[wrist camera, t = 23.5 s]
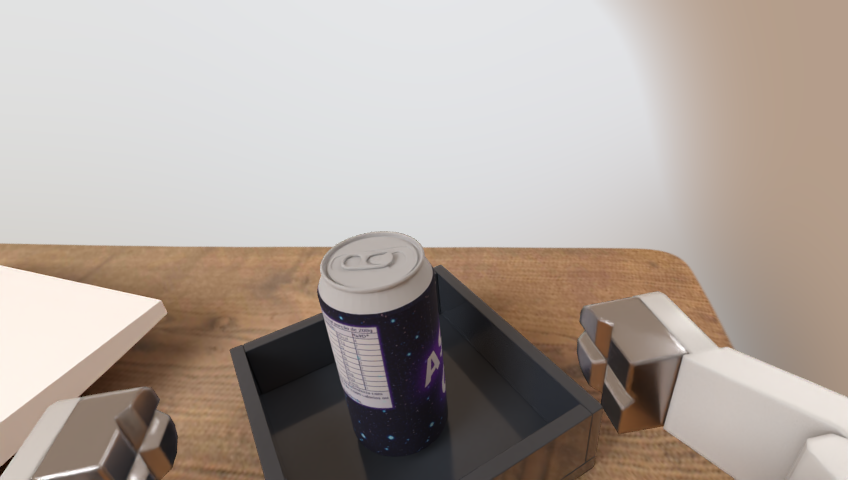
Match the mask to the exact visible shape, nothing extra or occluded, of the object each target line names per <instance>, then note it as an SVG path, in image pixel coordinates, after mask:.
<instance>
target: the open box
mask: <svg viewBox="0 0 848 480" xmlns="http://www.w3.org/2000/svg"><path fill="white" fill-rule="evenodd" d="M433 269H434V273H435V282H436V292H437V303H438V313H439V323H440V333H441V343H442V353H443V364H444V374H445V384H446V394H447V404H448V418H447V422H446V425H445V427H444V429H443V431H442V433H441V434H440V435H439V437H438V438H437V439H436V440H435V441H434V442H433V443H432V444H430V445H429V446H428V447H426V448H425V449H423V450H421V451H419V452H417V453H414V454H411V455H407V456H401V457H389V456H383V455H379V454H376V453H374V452H372V451H370V450H369V449H367V448H366V447H365V446H364V445H362V443H361V442H360V441H359V440H358V438H357V437H356V434H355V432H354V429H353V425H352V421H351V417H350V414H349V410H348V406H347V403H346V399H345V395H344V391H343V388H342V384H341V380H340V376H339V373H338V369H337V365H336V362H335V358H334V354H333V350H332V347H331V343H330V339H329V335H328V332H327V328H326V324H325V320H324V317H323V313H320V314H317V315H315V316H313V317H310V318H308V319H305V320H303V321H300V322H298V323H295V324H293V325H290V326H288V327H285V328H283V329H280V330H278V331H275V332H273V333H270V334H268V335H265V336H263V337H260V338H258V339H256V340H253V341H251V342H248V343H246V344H244V345H240V346H237V347H235V348H232V349H230V353H231V357H232V360H233V364H234V368H235V371H236V375H237V379H238V382H239V386H240V390H241V393H242V397H243V400H244V404H245V408H246V411H247V415H248V419H249V422H250V426H251V430H252V433H253V437H254V440H255V444H256V448H257V451H258V455H259V459H260V462H261V466H262V470H263V473H264V477H265V480H575V479H576V478H578V477H579V476H581V475H582V474H583V473H585V472H586V471H588V470H589V469H591V468H592V467H593V466H594V462H595V455H596V450H597V444H598V438H599V432H600V426H601V420H602V414H603V407H602V406H601V404H600V403H599V402H598V401H597V400H596V399H595V398H593V397H592V396H591V395H590V394H589V393H588V392H587V391H585V390H584V389H583V388H582V387H581V386H580V385H579V384H577V383H576V382H575V381H574V380H573V379H572V378H571V377H569V376H568V375H567V374H566V373H565V372H564V371H562V370H561V369H560V368H559V367H558V366H557V365H556V364H554V363H553V362H552V361H551V360H550V359H549V358H548V357H546V356H545V355H544V354H543V353H542V352H541V351H540V350H538V349H537V348H536V347H535V346H534V345H533V344H532V343H530V342H529V341H528V340H527V339H526V338H525V337H523V336H522V335H521V334H520V333H519V332H518V331H517V330H515V329H514V328H513V327H512V326H511V325H510V324H509V323H507V322H506V321H505V320H504V319H503V318H502V317H501V316H499V315H498V314H497V313H496V312H495V311H494V310H492V309H491V308H490V307H489V306H488V305H487V304H486V303H484V302H483V301H482V300H481V299H480V298H479V297H478V296H476V295H475V294H474V293H473V292H472V291H471V290H470V289H468V288H467V287H466V286H465V285H464V284H463V283H461V282H460V281H459V280H458V279H457V278H456V277H455V276H453V275H452V274H451V273H450V272H449V271H448V270H447V269H445V268H444V267H443V266H442V265H439V266H436V267H434V268H433Z"/></svg>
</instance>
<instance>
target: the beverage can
mask: <svg viewBox="0 0 848 480" xmlns="http://www.w3.org/2000/svg"><path fill="white" fill-rule="evenodd" d="M320 272H321V278H320V281H319V284H318V289H317V293H318V298H319V302H320V306H321V309H322V313H323V317H324V320H325V324H326V328H327V332H328V335H329V339H330V343H331V347H332V350H333V354H334V358H335V362H336V365H337V369H338V373H339V376H340V380H341V384H342V388H343V391H344V395H345V399H346V403H347V406H348V410H349V414H350V417H351V421H352V425H353V429H354V432H355V434H356V437H357V438H358V440H359V441H360V442H361V443H362V445H364V446H365V447H366V448H367V449H369V450H370V451H372V452H374V453H376V454H379V455H383V456H389V457H401V456H407V455H411V454H414V453H417V452H419V451H421V450H423V449H425V448H426V447H428V446H429V445H430V444H432V443H433V442H434V441H435V440H436V439H437V438H438V437H439V435H440V434H441V433H442V431H443V429H444V427H445V425H446V422H447V418H448V404H447V394H446V384H445V374H444V364H443V353H442V343H441V333H440V323H439V313H438V303H437V292H436V282H435V273H434V269H433V267H432V265H431V264H430V262H429V261H428V260H427V258H426V257H425V255H424V250H423V247H422V246H421V244H420V243H419V242H418V241H417V240H415V239H414V238H412V237H410V236H408V235H405V234H402V233H397V232H388V231H380V232H370V233H364V234H360V235H357V236H354V237H351V238H348V239H346V240H344V241H342V242H340V243H338V244H337V245H335V246H334V247H333V248H331V249H330V250H329V251H328V252H327V253H326V254H325V256H324V257H323V259H322V261H321V265H320Z"/></svg>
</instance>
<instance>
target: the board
mask: <svg viewBox="0 0 848 480" xmlns="http://www.w3.org/2000/svg"><path fill="white" fill-rule="evenodd" d="M166 314H167V311H166V309H165V307H164V305H163V303H162V301H161V300H158V299H153V298H148V297H144V296H139V295H135V294H130V293H125V292H121V291H116V290H111V289H107V288H102V287H98V286H93V285H88V284H84V283H79V282H75V281H70V280H65V279H61V278H56V277H52V276H47V275H42V274H38V273H33V272H29V271H24V270H19V269H15V268H10V267H5V266H1V265H0V467H1V466H2V465H3V464H4V463H5V462H6V461H7V460H8V459H10V458H11V457H12V456H13V455H14V454H15V453H16V452H17V451H18V450H19V449H20V447H21V446H22V444H23V443H24V441H25V440H26V438H27V437H28V436H29V434H30V433H31V431H32V430H33V428H34V427H35V425H36V424H37V422H38V421H39V419H40V418H41V416H42V415H43V414H44V412H45V411H46V409H47V408H48V407H49V406H51V405H52V404H54V403H55V402H57V401H59V400H66V399H73V398H77V397H79V396H80V395H81V394H82V393H83V392H84V391H85V390H86V389H87V388H88V387H90V386H91V385H92V384H93V383H94V382H95V381H96V380H97V379H98V378H99V377H100V376H101V375H103V374H104V373H105V372H106V371H107V370H108V369H109V368H110V367H111V366H112V365H113V364H114V363H115V362H117V361H118V360H119V359H120V358H121V357H122V356H123V355H124V354H125V353H126V352H127V351H128V350H129V349H130V348H132V347H133V346H134V345H135V344H136V343H137V342H138V341H139V340H140V339H141V338H142V337H143V336H144V335H145V334H146V333H147V332H148V331H149V330H151V329H152V328H153V327H154V326H155V325H156V324H157V323H158V322H159V321H160V320H161V319H162V318H163V317H164V316H165V315H166Z"/></svg>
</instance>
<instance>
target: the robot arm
mask: <svg viewBox="0 0 848 480" xmlns="http://www.w3.org/2000/svg"><path fill="white" fill-rule="evenodd" d="M579 322H580V323H581V325H582V326H583V328H584V329H585V331H584V332H583V333H582V334H581V335H580V337H579V338H578V342H577V355H578V360H579V365H580V367H581V370H582V372H583V375H584V377H585V379H586V380H587V382H588V384H589V385H590V386H591V387H593V388H594V389H596V390H598V391H600V392H601V393H602V399H601V406H602V407H603V409H604V411H605V412H606V414H607V416H608V417H609V419H610V420H611V422H612V424H613V425H614V427H615V429H616V430H617V432H618V434H622V433H628V432H633V431H639V430H645V429H650V428H656V427H661V426H664V427H663V429H664V430H666V431H667V432H669V433H670V434H672V435H673V436H674V437H676V438H677V439H679V440H680V441H681V442H683V443H684V444H686V445H687V446H689V447H690V448H691V449H693V450H694V451H696V452H697V453H699V454H700V455H701V456H703V457H704V458H706V459H707V460H708V461H710V462H711V463H713V464H714V465H716V466H717V467H718V468H720V469H721V470H723V471H724V472H725V473H727V474H728V475H730V476H731V477H733V478H734V479H735V480H848V397H846V396H844V395H842V394H839V393H837V392H834V391H832V390H830V389H827V388H825V387H822V386H820V385H817V384H815V383H813V382H811V381H808V380H806V379H803V378H801V377H799V376H796V375H793V374H791V373H789V372H786V371H784V370H781V369H779V368H777V367H774V366H772V365H770V364H767V363H765V362H763V361H760V360H758V359H756V358H753V357H751V356H748V355H746V354H743V353H741V352H739V351H736V350H734V349H732V348H729V347H723V348H719V347H718V346H717V345H716V344H715V343H714V342H713V341H712V340H711V339H710V338H709V337H708V336H707V335H706V334H705V333H704V332H703V331H702V330H701V329H700V328H699V327H698V326H697V325H696V324H695V323H694V322H693V321H692V320H691V319H690V318H689V317H688V316H687V315H686V314H685V313H684V312H683V311H681V310H680V309H679V308H678V307H677V306H676V305H675V304H674V303H673V302H672V301H671V300H670V299H669V298H668V297H667V296H666V295H665V294H663V293H661V292H659V291H657V292H652V293H647V294H642V295H637V296H633V297H628V298H623V299H617V300H612V301H607V302H602V303H596V304H591V305H586V306H584V307H583V308H582V310H581V313H580V321H579ZM159 401H160V399H159V397H158V396H157V394H156V393H155V391H154V390H153V389H152V387H138V388H131V389H125V390H119V391H113V392H106V393H100V394H94V395H87V396H86V397H79V398H73V399H66V400H59V401H57V402H55V403H54V404H52V405H51V406H49V407H48V408H47V409H46V411H45V412H44V414H43V415H42V416H41V418H40V419H39V421H38V422H37V424H36V425H35V427H34V428H33V430H32V431H31V433H30V434H29V436H28V437H27V438H26V440H25V441H24V443H23V444H22V446H21V447H20V449H19V450H18V452H17V453H16V455H15V456H14V457H13V459H12V460H11V462H10V463H9V465H8V466H7V468H6V469H5V471H4V472H3V474H2V475H1V477H0V480H161V479H162V478H163V477H164V476H165V475H166V474H167V473H168V472H169V471H170V470H171V469H172V467H173V463H174V460H175V457H176V454H177V439H178V436H177V432H176V428H175V424H174V423H173V421H172V419H171V417H170V416H169V415H167V414H165V413H163V412H161V411H159V410H157V409H156V408H157V406H158V403H159Z"/></svg>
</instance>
